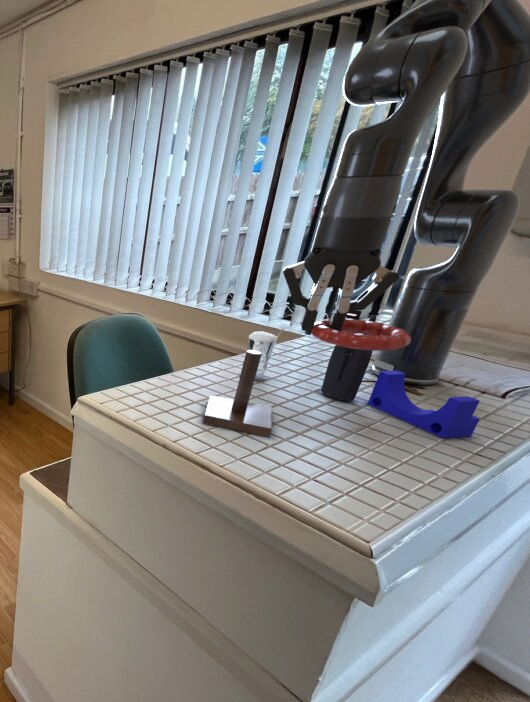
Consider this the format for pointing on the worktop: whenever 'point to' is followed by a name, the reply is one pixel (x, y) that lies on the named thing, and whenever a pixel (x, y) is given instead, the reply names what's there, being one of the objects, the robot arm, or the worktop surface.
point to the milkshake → (262, 348)
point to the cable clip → (443, 422)
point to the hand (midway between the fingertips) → (318, 334)
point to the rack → (241, 404)
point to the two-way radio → (346, 371)
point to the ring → (379, 340)
